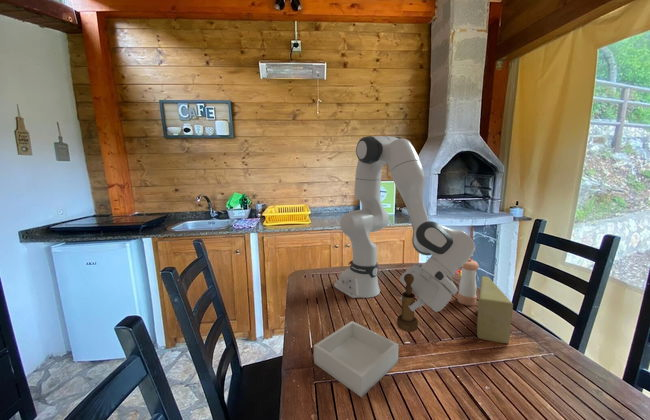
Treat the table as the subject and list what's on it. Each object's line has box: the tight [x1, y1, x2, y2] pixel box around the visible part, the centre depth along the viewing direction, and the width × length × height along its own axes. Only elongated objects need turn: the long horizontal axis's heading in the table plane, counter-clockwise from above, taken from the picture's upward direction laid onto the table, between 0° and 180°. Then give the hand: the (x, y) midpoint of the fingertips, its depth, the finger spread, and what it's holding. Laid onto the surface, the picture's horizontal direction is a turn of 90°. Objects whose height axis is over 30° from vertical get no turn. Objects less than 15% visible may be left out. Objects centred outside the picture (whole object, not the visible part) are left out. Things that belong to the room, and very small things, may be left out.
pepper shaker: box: [456, 258, 480, 307], centre depth 118 cm, size 7×7×19 cm
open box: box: [313, 320, 400, 398], centre depth 84 cm, size 18×18×6 cm
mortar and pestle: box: [396, 274, 419, 333], centre depth 90 cm, size 7×6×18 cm
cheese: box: [476, 275, 514, 344], centre depth 102 cm, size 22×10×15 cm, turn 159°
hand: (406, 305), depth 90 cm, fingers closed on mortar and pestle, 4 cm apart
